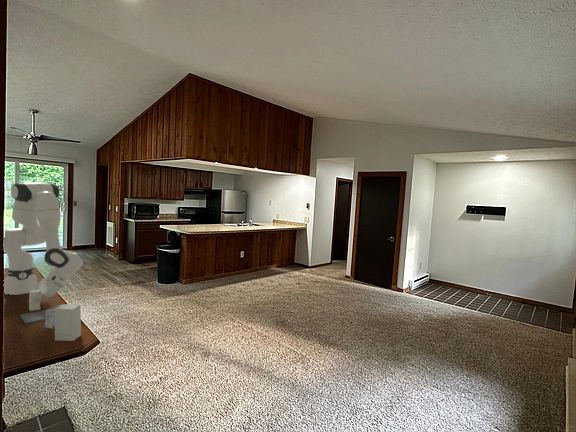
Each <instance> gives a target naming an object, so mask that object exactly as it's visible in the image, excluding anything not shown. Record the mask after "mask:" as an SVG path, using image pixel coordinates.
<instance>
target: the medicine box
mask: <svg viewBox="0 0 576 432" xmlns="http://www.w3.org/2000/svg"><path fill="white" fill-rule="evenodd" d="M60 305H61V304H59V305H56V306H52V307H50V308H48V309H45V320H44V328H47V329H55V316H54V309H55V308H57V307H59V306H60Z"/></svg>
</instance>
